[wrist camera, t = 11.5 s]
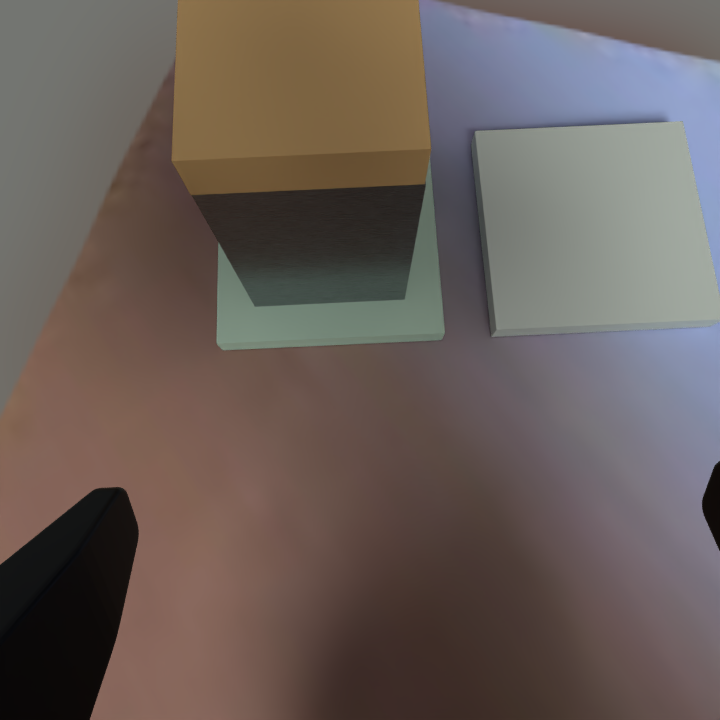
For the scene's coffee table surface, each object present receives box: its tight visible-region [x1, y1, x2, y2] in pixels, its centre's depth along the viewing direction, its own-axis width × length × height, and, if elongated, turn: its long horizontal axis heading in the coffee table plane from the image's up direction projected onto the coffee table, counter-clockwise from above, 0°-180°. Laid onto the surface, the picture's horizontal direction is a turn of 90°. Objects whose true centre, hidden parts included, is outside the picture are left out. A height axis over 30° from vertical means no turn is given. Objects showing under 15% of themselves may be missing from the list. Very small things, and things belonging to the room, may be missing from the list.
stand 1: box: [217, 159, 445, 350], centre depth 24 cm, size 9×9×1 cm
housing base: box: [192, 181, 426, 307], centre depth 20 cm, size 6×6×8 cm
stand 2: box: [471, 121, 720, 337], centre depth 24 cm, size 9×9×1 cm
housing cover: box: [172, 0, 431, 195], centre depth 15 cm, size 6×6×3 cm
